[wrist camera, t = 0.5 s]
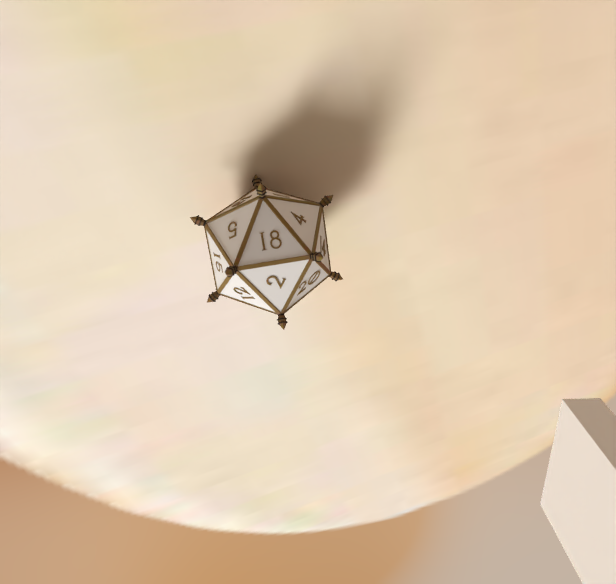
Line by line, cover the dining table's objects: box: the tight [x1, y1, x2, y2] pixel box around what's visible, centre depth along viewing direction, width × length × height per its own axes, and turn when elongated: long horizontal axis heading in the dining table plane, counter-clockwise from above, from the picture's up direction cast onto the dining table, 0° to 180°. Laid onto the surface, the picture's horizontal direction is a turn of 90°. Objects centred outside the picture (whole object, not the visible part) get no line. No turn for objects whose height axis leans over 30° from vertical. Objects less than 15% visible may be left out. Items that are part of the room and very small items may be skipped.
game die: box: [190, 175, 343, 329], centre depth 34 cm, size 9×8×10 cm
